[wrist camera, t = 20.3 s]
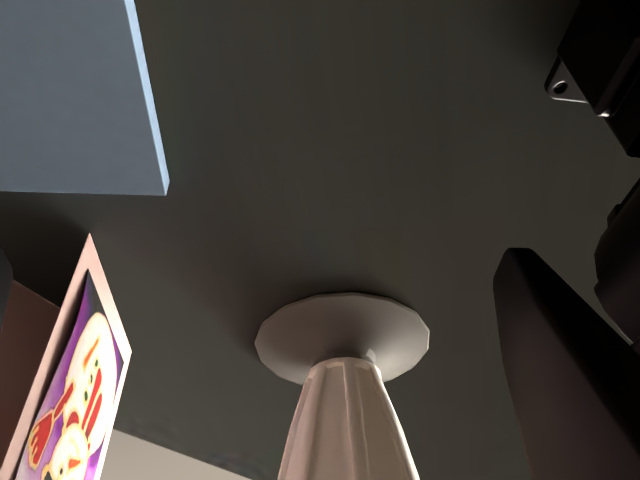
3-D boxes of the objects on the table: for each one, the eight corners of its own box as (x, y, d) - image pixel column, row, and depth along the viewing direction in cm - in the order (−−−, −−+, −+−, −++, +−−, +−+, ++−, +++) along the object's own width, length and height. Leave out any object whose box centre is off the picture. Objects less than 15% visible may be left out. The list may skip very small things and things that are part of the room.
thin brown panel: (144, 351, 36) (80, 625, 26) (29, 349, 36) (-81, 627, 26) (106, 233, 28) (-9, 568, 18) (-44, 228, 28) (-251, 568, 17)
